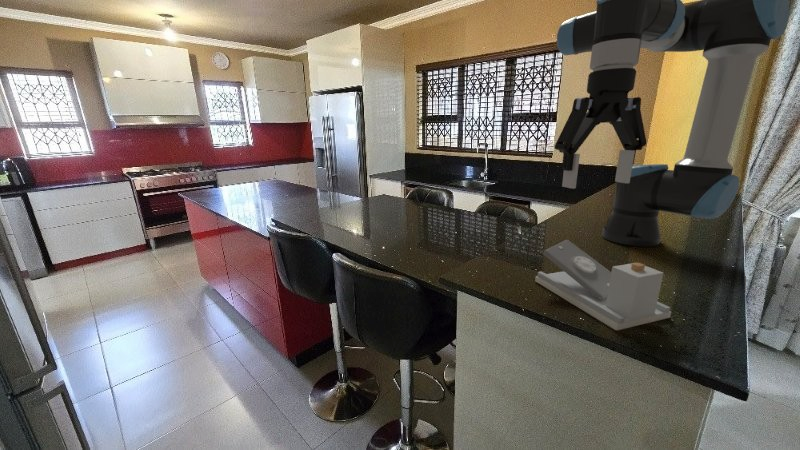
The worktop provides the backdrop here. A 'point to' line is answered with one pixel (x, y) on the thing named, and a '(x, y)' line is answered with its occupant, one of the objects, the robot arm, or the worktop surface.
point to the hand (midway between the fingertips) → (596, 185)
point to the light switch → (581, 268)
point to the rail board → (615, 295)
